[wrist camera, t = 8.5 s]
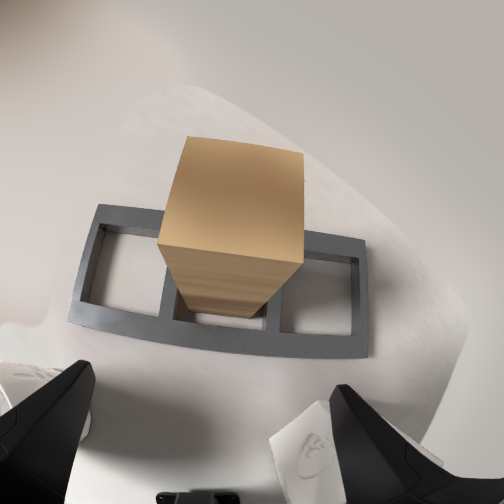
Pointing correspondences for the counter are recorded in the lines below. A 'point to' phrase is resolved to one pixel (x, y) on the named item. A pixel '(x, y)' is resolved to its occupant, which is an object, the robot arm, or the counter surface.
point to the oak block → (233, 225)
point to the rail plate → (217, 336)
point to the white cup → (25, 385)
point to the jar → (314, 458)
